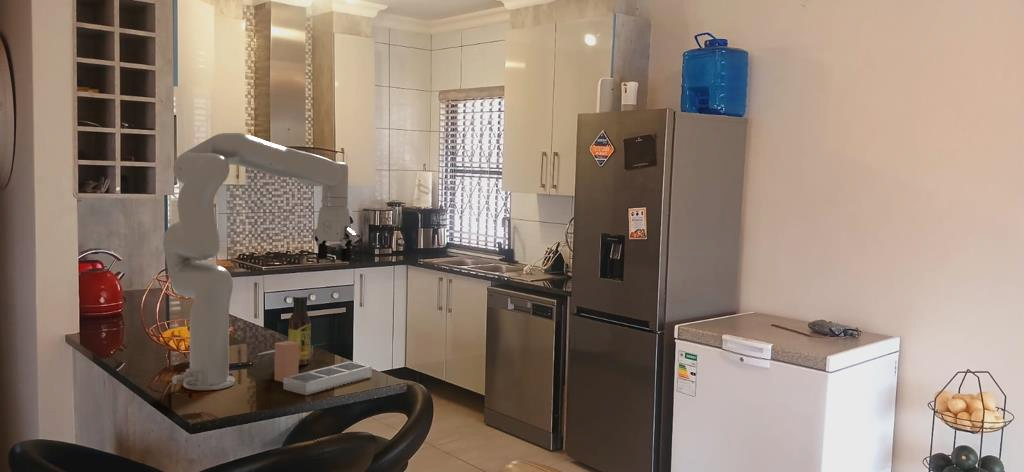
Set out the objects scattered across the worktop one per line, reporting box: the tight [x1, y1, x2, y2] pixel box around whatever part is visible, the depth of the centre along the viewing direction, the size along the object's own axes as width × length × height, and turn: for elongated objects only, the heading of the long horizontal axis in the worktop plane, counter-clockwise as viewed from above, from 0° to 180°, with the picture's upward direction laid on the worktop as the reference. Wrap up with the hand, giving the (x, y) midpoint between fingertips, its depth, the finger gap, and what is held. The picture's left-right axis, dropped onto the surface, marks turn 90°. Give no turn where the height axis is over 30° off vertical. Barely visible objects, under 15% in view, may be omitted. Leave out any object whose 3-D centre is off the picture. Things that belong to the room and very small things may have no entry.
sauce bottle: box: [287, 295, 312, 366], centre depth 231 cm, size 6×6×20 cm
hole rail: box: [282, 360, 373, 396], centre depth 212 cm, size 23×9×3 cm, turn 146°
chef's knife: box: [256, 349, 275, 355], centre depth 248 cm, size 19×1×3 cm
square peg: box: [274, 340, 300, 383], centre depth 213 cm, size 4×4×10 cm
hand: (333, 260), depth 238 cm, fingers open, 9 cm apart
